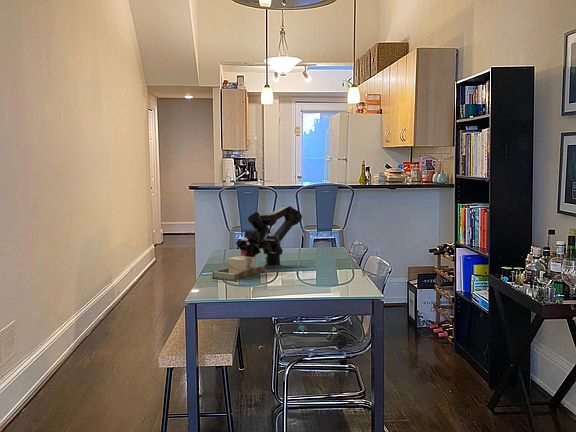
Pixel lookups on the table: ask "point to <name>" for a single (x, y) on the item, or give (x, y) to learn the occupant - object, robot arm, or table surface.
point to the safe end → (224, 276)
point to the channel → (244, 273)
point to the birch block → (240, 264)
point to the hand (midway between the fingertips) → (246, 259)
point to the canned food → (243, 253)
